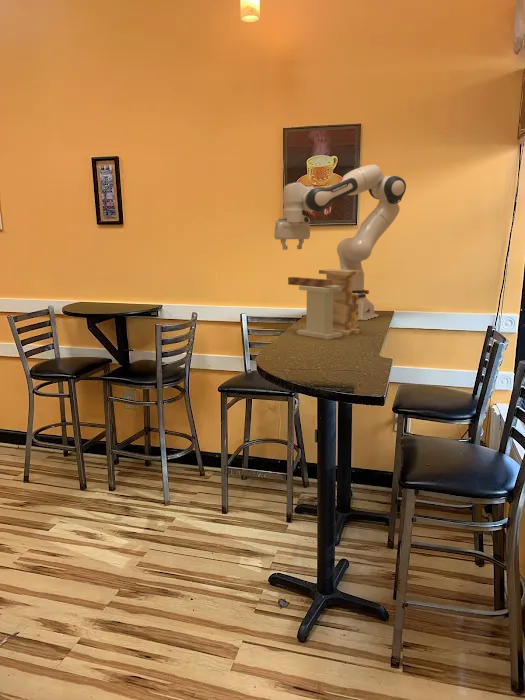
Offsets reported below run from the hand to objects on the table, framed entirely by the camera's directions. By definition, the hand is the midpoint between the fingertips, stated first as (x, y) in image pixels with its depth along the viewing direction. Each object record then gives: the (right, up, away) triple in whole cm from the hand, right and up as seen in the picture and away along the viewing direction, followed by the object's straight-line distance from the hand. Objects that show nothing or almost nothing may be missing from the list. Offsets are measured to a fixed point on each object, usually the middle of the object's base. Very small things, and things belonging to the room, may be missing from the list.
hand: (292, 249), depth 247 cm
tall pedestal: (+19, -39, -19) cm, 47 cm away
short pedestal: (+10, -41, -27) cm, 49 cm away
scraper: (+7, -21, -28) cm, 36 cm away
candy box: (+24, -37, -9) cm, 45 cm away
